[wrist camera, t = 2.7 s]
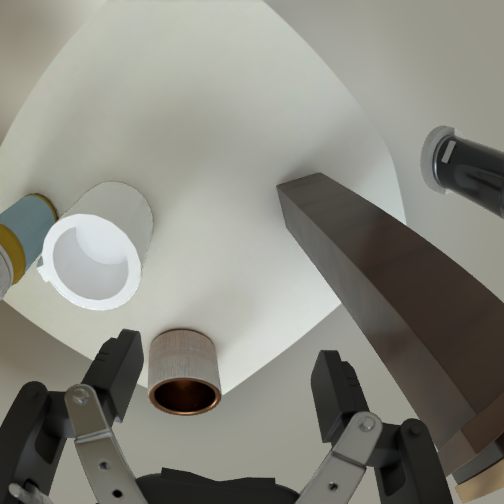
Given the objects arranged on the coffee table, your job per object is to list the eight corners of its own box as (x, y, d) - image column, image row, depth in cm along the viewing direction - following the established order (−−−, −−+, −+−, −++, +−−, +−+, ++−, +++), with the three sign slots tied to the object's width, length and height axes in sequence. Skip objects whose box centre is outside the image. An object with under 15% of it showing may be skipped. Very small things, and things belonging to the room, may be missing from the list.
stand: (262, 181, 34) (477, 455, 5) (329, 162, 34) (579, 334, 6) (277, 238, 38) (425, 489, 9) (338, 217, 38) (522, 409, 10)
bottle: (10, 216, 28) (-52, 275, 15) (35, 181, 27) (-35, 231, 14) (41, 251, 31) (-9, 322, 18) (68, 220, 30) (13, 287, 18)
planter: (166, 317, 40) (165, 367, 32) (227, 341, 45) (237, 388, 37) (140, 358, 43) (136, 405, 35) (195, 377, 48) (200, 421, 40)
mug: (80, 275, 34) (56, 327, 25) (45, 211, 29) (5, 250, 20) (165, 243, 35) (159, 293, 26) (134, 168, 30) (110, 195, 21)
